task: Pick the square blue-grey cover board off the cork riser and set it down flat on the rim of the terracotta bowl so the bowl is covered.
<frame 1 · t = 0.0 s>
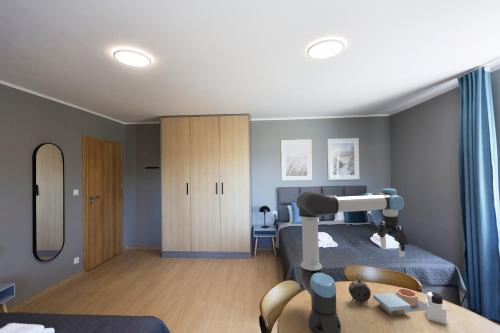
hand: (392, 252, 126), 28 cm above the table, fingers open, 13 cm apart
cork riser: (391, 310, 117), on the table
bowl: (406, 297, 124), on the placemat
cover board: (391, 303, 117), point 4 cm above the table, touching cork riser
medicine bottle: (435, 318, 110), on the table
placemat: (407, 302, 124), on the table
alarm clock: (360, 303, 124), on the table
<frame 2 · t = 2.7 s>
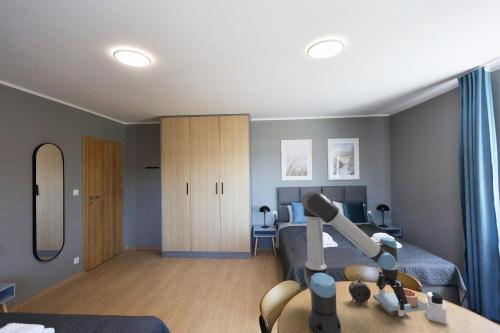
hand: (391, 308, 117), 1 cm above the table, fingers closed on cover board, 12 cm apart
cover board: (391, 303, 117), point 4 cm above the table, touching cork riser, gripper
everything else where it was.
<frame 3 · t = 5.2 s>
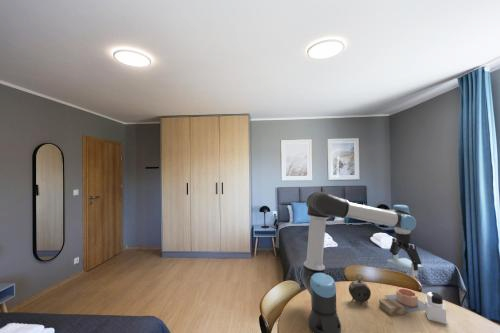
hand: (405, 270, 123), 18 cm above the table, fingers closed on cover board, 12 cm apart
cover board: (404, 266, 124), point 21 cm above the table, touching gripper
everything else where it was.
when the fingers open (4 cm above the table, at t = 7.5 s): cover board drops 1 cm, resting on bowl.
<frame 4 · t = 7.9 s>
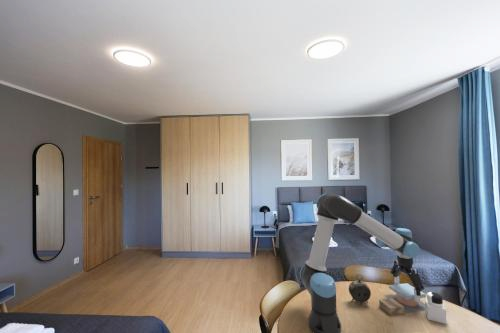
hand: (406, 294, 124), 5 cm above the table, fingers open, 13 cm apart
cover board: (406, 292, 124), point 6 cm above the table, touching bowl
everything else where it was.
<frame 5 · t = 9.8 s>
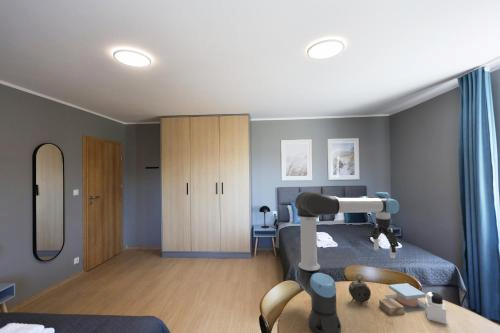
hand: (384, 253, 130), 26 cm above the table, fingers open, 13 cm apart
nothing on the table moved.
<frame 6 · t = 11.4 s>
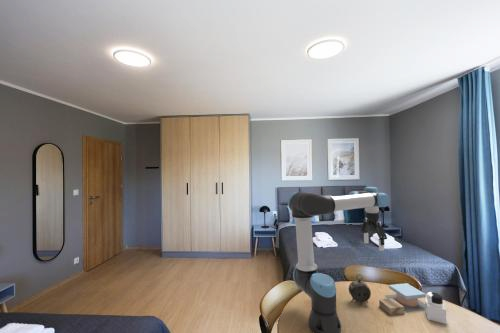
hand: (373, 246, 134), 29 cm above the table, fingers open, 13 cm apart
nothing on the table moved.
at the end: cover board 0.1 cm from the target spot, point 5.7 cm above the table; cover board tilted 0°; the gripper is holding nothing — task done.
